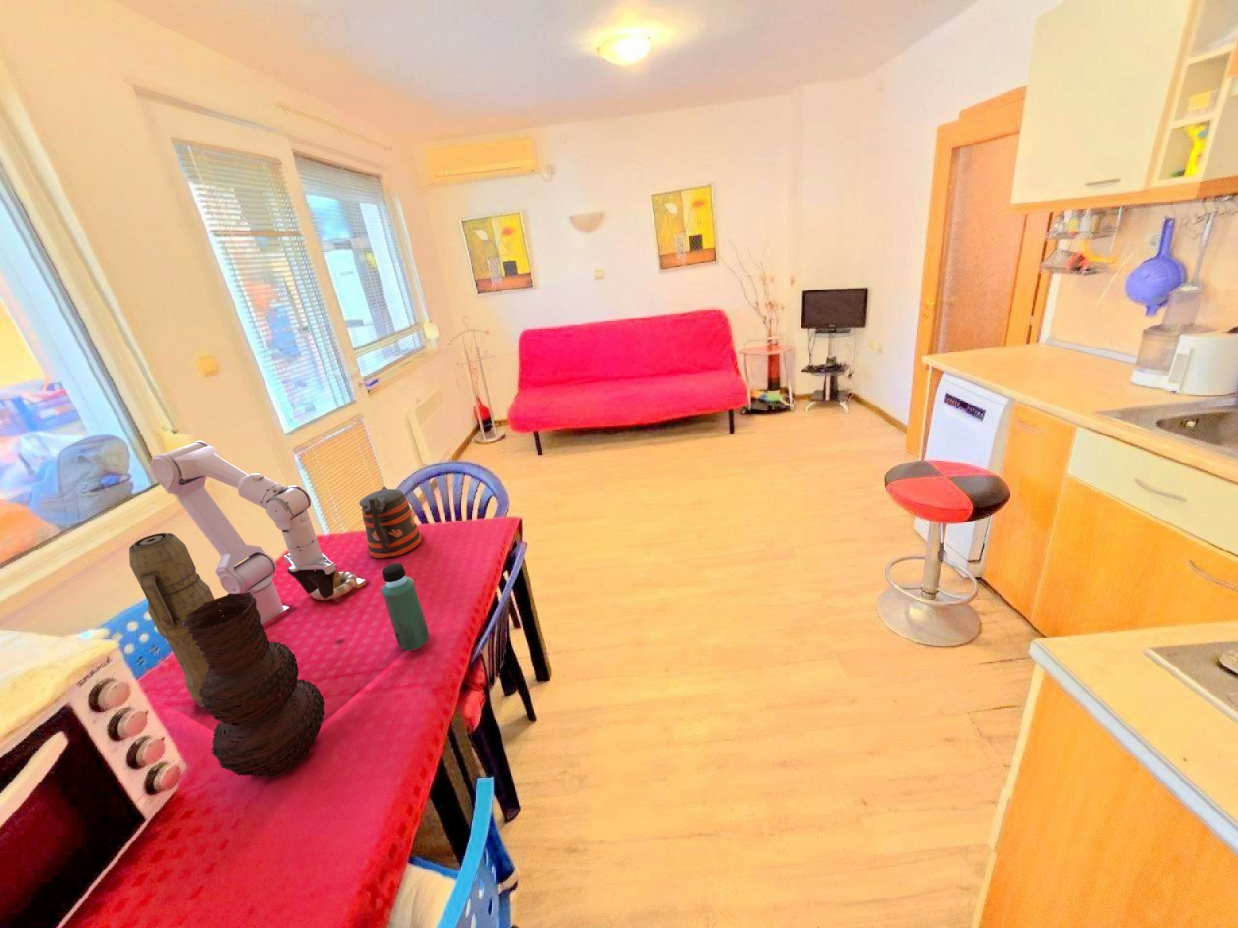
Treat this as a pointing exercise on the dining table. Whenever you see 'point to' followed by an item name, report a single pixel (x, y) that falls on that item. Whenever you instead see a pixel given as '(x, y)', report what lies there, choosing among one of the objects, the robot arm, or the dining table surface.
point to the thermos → (172, 599)
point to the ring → (340, 590)
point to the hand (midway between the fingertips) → (320, 593)
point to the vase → (253, 690)
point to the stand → (338, 582)
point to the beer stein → (389, 523)
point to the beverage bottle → (404, 608)
